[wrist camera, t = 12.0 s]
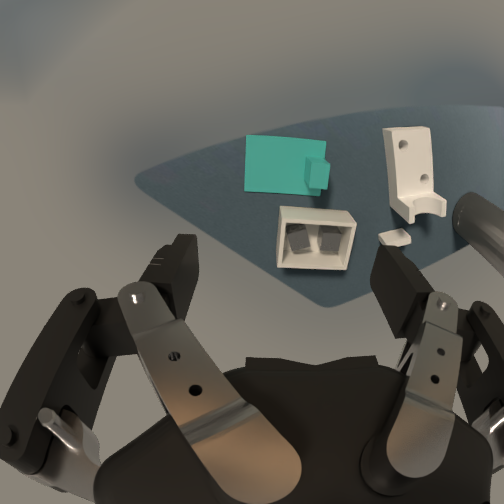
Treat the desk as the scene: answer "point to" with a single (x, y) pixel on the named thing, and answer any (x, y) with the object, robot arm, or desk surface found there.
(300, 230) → the block
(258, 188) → the lid
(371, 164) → the desk surface
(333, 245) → the block
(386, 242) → the eraser
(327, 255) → the tub
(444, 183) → the desk surface
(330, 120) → the desk surface
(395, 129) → the bracket
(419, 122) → the desk surface
